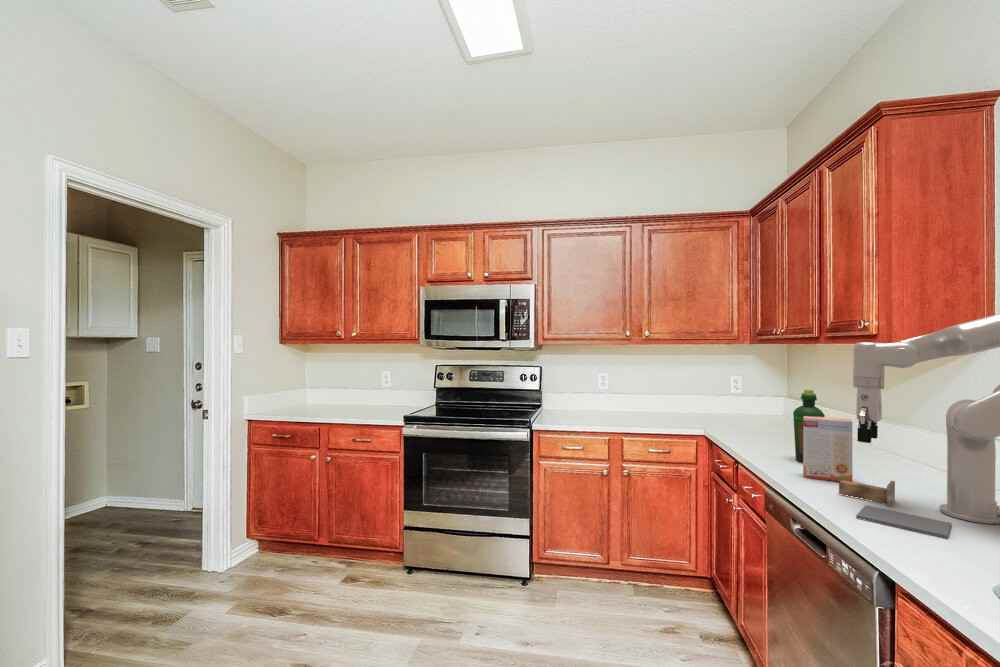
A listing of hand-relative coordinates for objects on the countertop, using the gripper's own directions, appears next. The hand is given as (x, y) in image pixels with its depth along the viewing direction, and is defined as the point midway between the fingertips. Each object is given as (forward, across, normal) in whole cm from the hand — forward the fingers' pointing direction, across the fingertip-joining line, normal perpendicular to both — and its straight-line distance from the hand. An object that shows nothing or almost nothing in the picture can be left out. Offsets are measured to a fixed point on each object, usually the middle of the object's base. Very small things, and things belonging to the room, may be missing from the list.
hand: (867, 439), depth 147 cm
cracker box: (+18, +16, +14) cm, 28 cm away
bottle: (+18, +38, +25) cm, 49 cm away
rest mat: (+18, -16, -10) cm, 26 cm away
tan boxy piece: (+18, 0, 0) cm, 18 cm away
